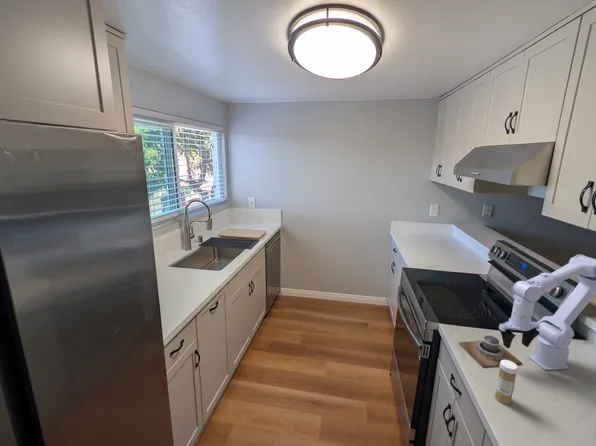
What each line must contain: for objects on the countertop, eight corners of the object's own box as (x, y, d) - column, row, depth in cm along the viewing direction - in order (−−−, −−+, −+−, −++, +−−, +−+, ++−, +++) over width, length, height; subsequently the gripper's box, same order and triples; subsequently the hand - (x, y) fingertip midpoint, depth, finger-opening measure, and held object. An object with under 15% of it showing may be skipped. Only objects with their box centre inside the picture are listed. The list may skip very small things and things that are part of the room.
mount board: (493, 341, 122) (494, 335, 121) (521, 364, 108) (522, 358, 108) (458, 343, 120) (459, 338, 120) (482, 367, 107) (483, 361, 106)
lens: (490, 347, 117) (492, 334, 115) (500, 356, 112) (502, 342, 110) (479, 348, 116) (481, 336, 115) (488, 357, 111) (490, 343, 110)
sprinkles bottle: (513, 400, 92) (520, 365, 89) (507, 407, 90) (514, 371, 87) (497, 391, 96) (504, 357, 93) (491, 397, 93) (497, 362, 90)
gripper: (530, 306, 107) (524, 338, 111) (495, 308, 106) (489, 340, 109) (547, 316, 101) (540, 350, 104) (510, 319, 99) (504, 352, 102)
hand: (515, 346), depth 106 cm, fingers open, 7 cm apart
